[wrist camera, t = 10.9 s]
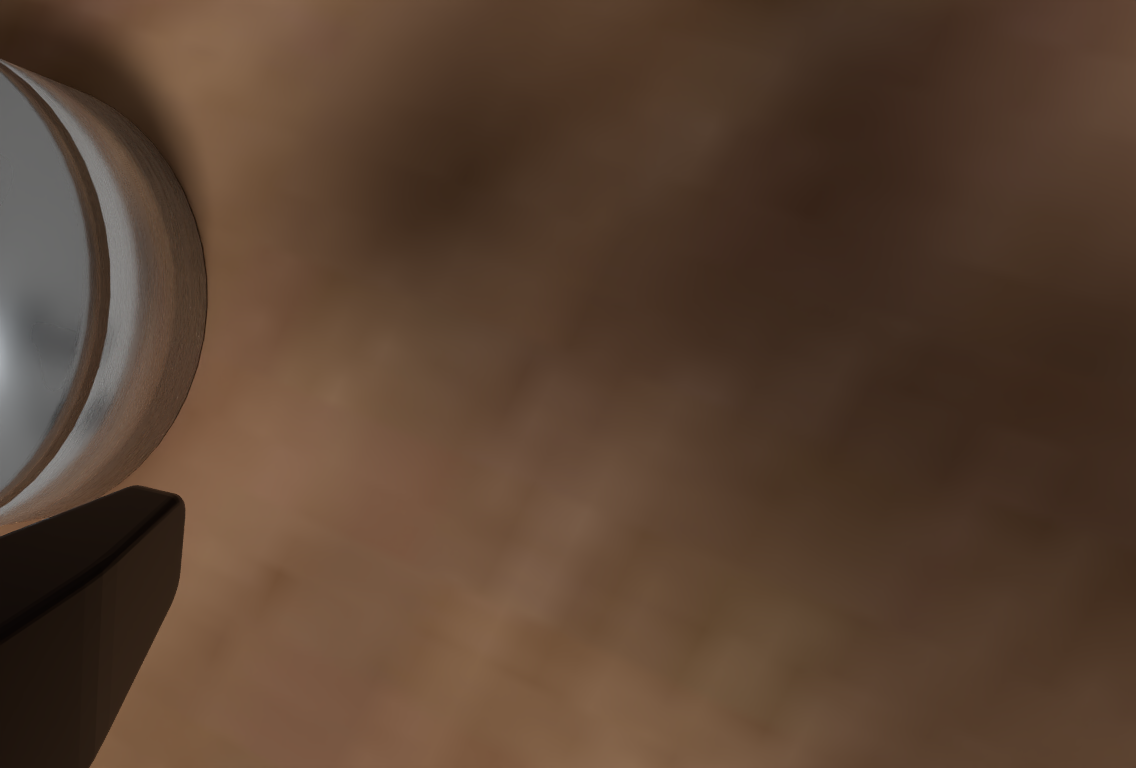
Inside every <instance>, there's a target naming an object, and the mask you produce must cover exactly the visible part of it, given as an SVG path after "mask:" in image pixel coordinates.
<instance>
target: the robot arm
mask: <svg viewBox="0 0 1136 768" xmlns="http://www.w3.org/2000/svg"><path fill="white" fill-rule="evenodd" d="M184 524H185V504H184V501H183V500H182V498H181V497H180V496H179V495H177V494H174V493H169V492H165V491H161V490H157V489H153V488H148V487H144V486H139V485H135V486H130V487H127V488H124V489H122V490H119V491H116V492H114V493H111V494H109V495H106V496H104V497H101V498H98V499H96V500H93V501H91V502H88V503H85V504H83V505H80V506H78V507H75V508H73V509H70V510H67V511H65V512H62V513H60V514H57V515H55V516H52V517H49V518H47V519H44V520H42V521H39V522H36V523H34V524H31V525H29V526H26V527H24V528H21V529H18V530H16V531H13V532H11V533H8V534H6V535H3V536H0V768H89V767H90V766H91V764H92V762H93V761H94V759H95V757H96V755H97V753H98V751H99V749H100V747H101V746H102V744H103V742H104V740H105V738H106V736H107V734H108V732H109V730H110V728H111V726H112V724H113V722H114V720H115V718H116V716H117V714H118V712H119V710H120V708H121V706H122V704H123V702H124V700H125V697H126V695H127V693H128V691H129V689H130V687H131V685H132V683H133V681H134V679H135V677H136V675H137V673H138V671H139V669H140V667H141V665H142V663H143V661H144V659H145V657H146V655H147V653H148V651H149V649H150V647H151V645H152V643H153V641H154V639H155V637H156V635H157V633H158V630H159V628H160V626H161V624H162V622H163V620H164V618H165V616H166V614H167V612H168V610H169V608H170V606H171V604H172V602H173V599H174V596H175V594H176V591H177V587H178V583H179V578H180V570H181V559H182V547H183V535H184Z"/></svg>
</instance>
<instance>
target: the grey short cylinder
mask: <svg viewBox="0 0 1136 768" xmlns="http://www.w3.org/2000/svg"><path fill="white" fill-rule="evenodd" d="M205 318H206V274H205V266H204V259H203V251H202V246H201V242H200V238H199V234H198V230H197V227H196V223H195V219H194V217H193V214H192V211H191V209H190V206H189V204H188V201H187V199H186V196H185V194H184V192H183V190H182V188H181V186H180V184H179V182H178V181H177V179H176V177H175V175H174V173H173V171H172V170H171V168H170V166H169V165H168V164H167V162H166V161H165V159H164V158H163V157H162V155H161V154H160V153H159V151H158V150H157V148H156V147H155V146H154V144H153V143H152V142H151V141H150V140H149V139H148V138H147V137H146V136H145V135H144V134H143V133H142V132H141V131H140V130H139V129H138V128H137V127H136V126H135V125H134V124H133V123H132V122H130V121H129V120H128V119H126V118H125V117H124V116H123V115H121V114H120V113H119V112H118V111H116V110H115V109H114V108H112V107H110V106H108V105H107V104H105V103H103V102H101V101H100V100H98V99H96V98H94V97H93V96H91V95H88V94H86V93H84V92H81V91H79V90H76V89H74V88H71V87H69V86H66V85H64V84H61V83H59V82H56V81H54V80H51V79H49V78H46V77H44V76H41V75H39V74H37V73H34V72H32V71H29V70H27V69H24V68H22V67H19V66H17V65H14V64H12V63H9V62H7V61H4V60H2V59H0V526H1V525H7V524H12V523H18V522H23V521H29V520H34V519H39V518H45V517H50V516H53V515H56V514H60V513H62V512H65V511H67V510H70V509H73V508H75V507H78V506H80V505H83V504H85V503H88V502H91V501H93V500H95V499H97V498H98V497H100V496H102V495H103V494H105V493H106V492H108V491H109V490H111V489H112V488H114V487H115V486H117V485H119V484H120V483H121V482H122V481H123V480H124V479H125V478H127V477H128V476H129V475H130V474H131V473H132V472H134V471H135V470H136V469H137V468H138V467H139V466H140V465H141V464H142V463H143V462H144V461H145V459H146V458H147V457H148V456H149V455H150V454H151V453H152V451H153V450H154V449H155V448H156V447H157V446H158V444H159V443H160V441H161V440H162V438H163V437H164V435H165V434H166V432H167V431H168V429H169V428H170V426H171V425H172V423H173V422H174V420H175V418H176V416H177V414H178V412H179V410H180V408H181V406H182V404H183V402H184V400H185V398H186V396H187V394H188V391H189V388H190V385H191V382H192V380H193V377H194V374H195V371H196V368H197V364H198V360H199V355H200V351H201V347H202V342H203V337H204V327H205Z"/></svg>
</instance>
